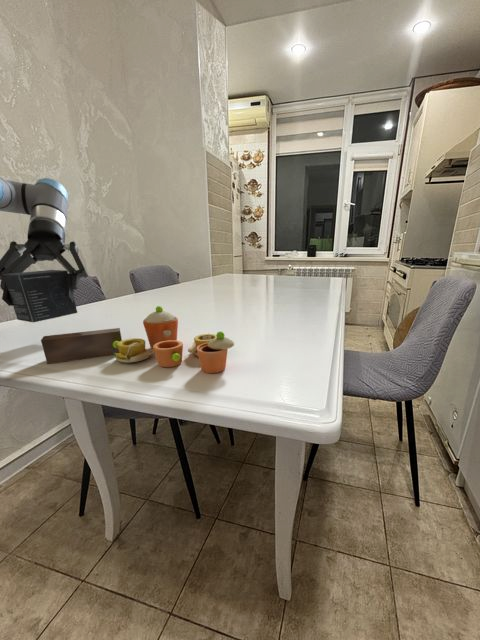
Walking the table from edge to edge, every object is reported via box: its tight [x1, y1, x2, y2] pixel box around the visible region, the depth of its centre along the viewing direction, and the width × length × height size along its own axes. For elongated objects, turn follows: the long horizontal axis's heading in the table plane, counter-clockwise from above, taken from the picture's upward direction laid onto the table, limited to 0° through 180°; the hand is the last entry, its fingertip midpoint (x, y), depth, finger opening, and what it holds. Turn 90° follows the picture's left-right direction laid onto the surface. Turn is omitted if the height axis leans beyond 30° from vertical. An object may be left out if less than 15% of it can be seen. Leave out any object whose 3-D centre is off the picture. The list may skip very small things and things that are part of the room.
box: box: [3, 269, 78, 323], centre depth 68 cm, size 11×7×10 cm, turn 155°
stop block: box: [40, 327, 123, 365], centre depth 61 cm, size 14×3×5 cm, turn 116°
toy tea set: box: [113, 305, 235, 374], centre depth 60 cm, size 26×16×10 cm, turn 72°
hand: (39, 301), depth 66 cm, fingers closed on box, 11 cm apart
